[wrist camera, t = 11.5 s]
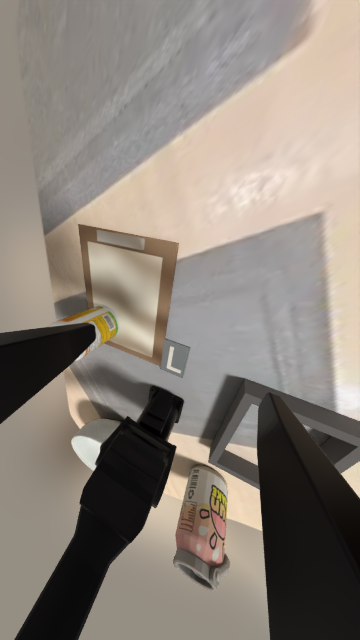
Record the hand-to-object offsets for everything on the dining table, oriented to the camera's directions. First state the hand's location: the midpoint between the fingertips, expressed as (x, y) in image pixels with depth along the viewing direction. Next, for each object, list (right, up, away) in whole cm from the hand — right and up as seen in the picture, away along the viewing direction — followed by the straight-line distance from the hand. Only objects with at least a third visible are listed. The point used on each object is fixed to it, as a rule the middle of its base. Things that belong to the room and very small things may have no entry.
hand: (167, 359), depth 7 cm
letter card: (0, -4, +16) cm, 17 cm away
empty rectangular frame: (+14, -16, +16) cm, 27 cm away
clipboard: (-7, +5, +15) cm, 18 cm away
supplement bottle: (-11, +2, +17) cm, 21 cm away
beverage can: (+7, -32, +26) cm, 42 cm away
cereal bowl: (-14, -26, +32) cm, 44 cm away
